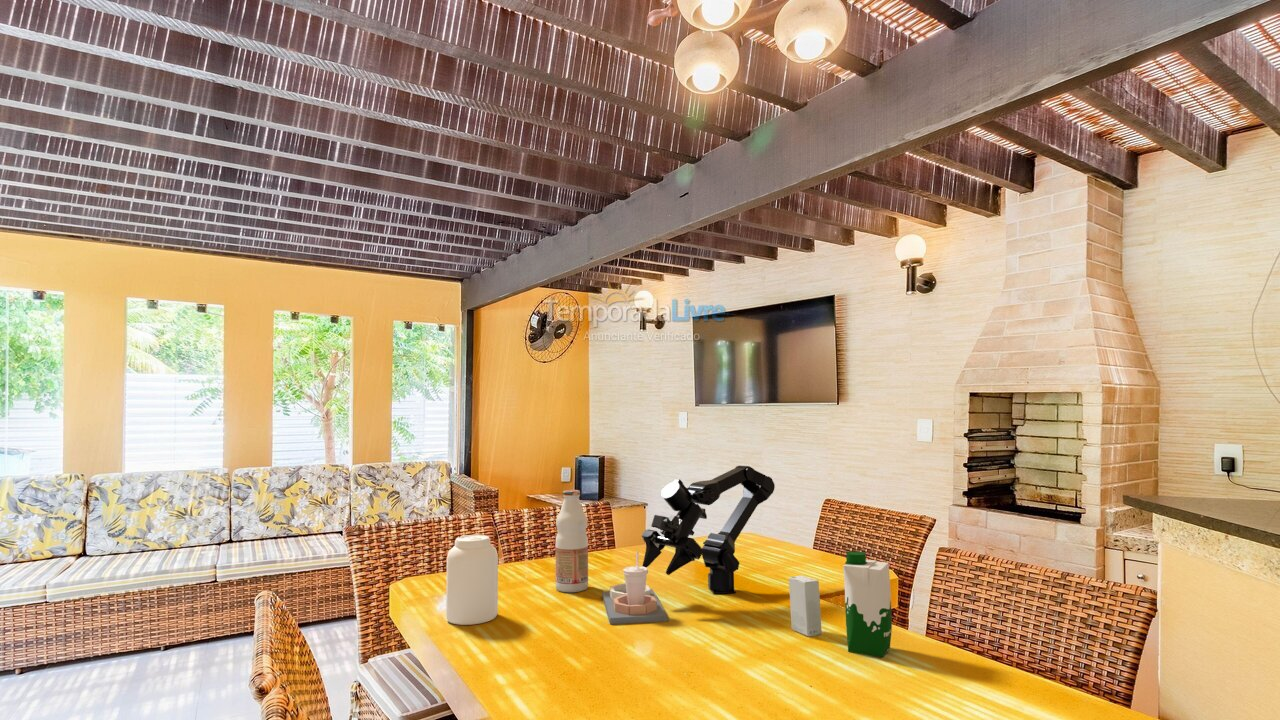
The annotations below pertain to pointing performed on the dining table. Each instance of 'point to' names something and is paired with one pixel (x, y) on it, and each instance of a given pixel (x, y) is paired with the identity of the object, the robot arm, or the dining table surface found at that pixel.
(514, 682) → the dining table surface
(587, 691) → the dining table surface
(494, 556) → the white plastic jar
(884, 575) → the milk carton
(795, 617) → the skincare box
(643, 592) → the smoothie
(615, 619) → the board
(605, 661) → the dining table surface
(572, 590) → the fruit juice
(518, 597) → the dining table surface
